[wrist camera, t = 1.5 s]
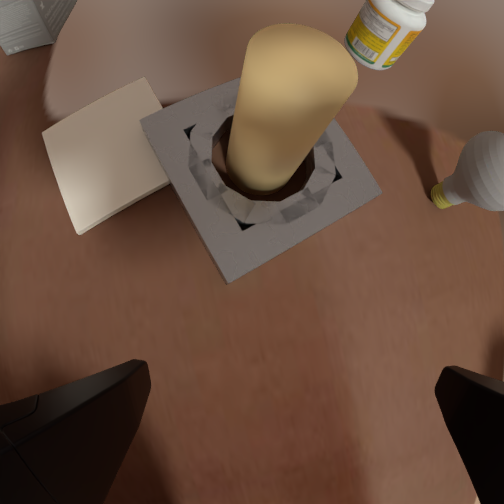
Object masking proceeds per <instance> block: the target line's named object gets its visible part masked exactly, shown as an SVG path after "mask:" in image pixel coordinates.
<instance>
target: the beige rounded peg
mask: <svg viewBox="0 0 504 504" xmlns="http://www.w3.org/2000/svg"><path fill="white" fill-rule="evenodd" d="M357 81H358V72H357V67H356V64H355V62H354V60H353V58H352V57H351V55H350V54H349V52H348V51H347V50H346V49H345V48H344V47H343V46H342V45H341V44H340V43H339V42H338V41H336V40H335V39H334V38H332V37H331V36H329V35H327V34H326V33H324V32H322V31H320V30H317V29H314V28H312V27H308V26H305V25H300V24H291V23H284V24H275V25H271V26H268V27H265V28H263V29H261V30H259V31H258V32H257V33H255V34H254V36H253V37H252V38H251V39H250V41H249V43H248V46H247V50H246V55H245V59H244V64H243V69H242V74H241V79H240V85H239V90H238V95H237V100H236V106H235V111H234V117H233V122H232V128H231V133H230V139H229V145H228V151H227V156H226V169H227V173H228V175H229V177H230V179H231V180H232V182H233V183H234V184H235V185H236V186H237V187H238V188H239V189H241V190H242V191H244V192H246V193H249V194H253V195H259V196H263V195H270V194H273V193H275V192H277V191H279V190H281V189H282V188H283V187H284V186H285V185H286V184H287V182H288V181H289V179H290V178H291V177H292V175H293V174H294V172H295V171H296V170H297V168H298V167H299V165H300V164H301V163H302V161H303V160H304V159H305V157H306V156H307V154H308V153H309V152H310V150H311V149H312V147H313V146H314V145H315V143H316V142H317V141H318V139H319V138H320V136H321V135H322V134H323V132H324V131H325V129H326V128H327V127H328V125H329V124H330V123H331V121H332V120H333V118H334V117H335V116H336V114H337V113H338V112H339V110H340V109H341V107H342V106H343V105H344V103H345V102H346V101H347V99H348V98H349V97H350V95H351V94H352V92H353V91H354V90H355V88H356V85H357Z"/></svg>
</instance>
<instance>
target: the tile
mask: <svg viewBox="0 0 504 504" xmlns="http://www.w3.org/2000/svg"><path fill="white" fill-rule="evenodd" d="M161 109H163V108H162V106H161V104H160V102H159V101H158V99H157V97H156V95H155V94H154V92H153V90H152V88H151V87H150V85H149V83H148V81H147V79H146V78H145V77H142V78H141V79H138V80H136V81H134V82H132V83H129V84H127V85H125V86H123V87H121V88H119V89H117V90H115V91H113V92H111V93H109V94H107V95H105V96H103V97H102V98H99V99H98V100H96V101H94V102H92V103H90V104H88V105H87V106H85V107H83V108H81V109H80V110H78V111H76V112H74V113H73V114H71V115H69V116H68V117H66V118H64V119H63V120H61V121H59V122H58V123H56V124H55V125H53V126H51V127H50V128H48V129H47V130H45V131H44V132H42V135H43V139H44V142H45V146H46V149H47V152H48V156H49V159H50V162H51V165H52V168H53V171H54V174H55V177H56V180H57V183H58V186H59V188H60V191H61V194H62V197H63V199H64V202H65V205H66V207H67V210H68V213H69V215H70V218H71V220H72V223H73V225H74V228H75V230H76V232H77V234H79V235H81V234H83V233H84V232H86V231H88V230H89V229H91V228H92V227H94V226H96V225H97V224H99V223H101V222H102V221H104V220H106V219H107V218H109V217H111V216H113V215H114V214H116V213H118V212H119V211H121V210H123V209H125V208H126V207H128V206H130V205H132V204H133V203H135V202H137V201H139V200H141V199H142V198H144V197H146V196H148V195H150V194H151V193H153V192H155V191H157V190H159V189H161V188H163V187H164V186H166V185H168V184H170V183H169V180H168V178H167V176H166V174H165V172H164V170H163V169H162V167H161V165H160V163H159V161H158V159H157V157H156V155H155V153H154V151H153V150H152V148H151V146H150V144H149V142H148V140H147V138H146V136H145V134H144V132H143V130H142V127H141V124H140V121H139V120H140V119H142V118H144V117H146V116H148V115H151V114H153V113H155V112H157V111H159V110H161Z"/></svg>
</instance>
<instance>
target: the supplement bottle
mask: <svg viewBox="0 0 504 504" xmlns="http://www.w3.org/2000/svg"><path fill="white" fill-rule="evenodd" d="M433 3H434V0H366V2H365V3H364V5H363V7H362V8H361V10H360V12H359V14H358V15H357V17H356V19H355V20H354V22H353V24H352V26H351V27H350V29H349V31H348V32H347V34H346V36H345V40H344V41H345V46H346V48H347V51H348V52H349V54H350V55H351V56H352V57H353V58H354V59H355V60H356V61H358V62H359V63H361V64H362V65H364V66H366V67H368V68H371V69H374V70H385V69H388V68H390V67H391V66H392V65H393V64H394V63H395V61H396V60H397V59H398V58H399V57H400V56H401V54H402V53H403V52H404V51H405V50H406V48H407V47H408V46H409V45H410V43H411V42H412V41H413V40H414V39H415V38H416V37H417V36H418V34H419V33H420V32H421V31H422V30H423V28H424V27H425V25H426V17H425V14H424V12H427V11H428V10H429V9H430V7H431V6H432V5H433Z"/></svg>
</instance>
